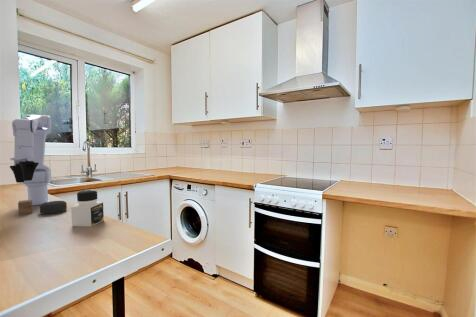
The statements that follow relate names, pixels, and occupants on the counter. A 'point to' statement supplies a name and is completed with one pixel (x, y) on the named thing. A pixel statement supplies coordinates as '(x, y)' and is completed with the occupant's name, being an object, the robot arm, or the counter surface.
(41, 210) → the smart speaker
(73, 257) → the counter surface
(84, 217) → the medicine bottle
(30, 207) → the walnut block
